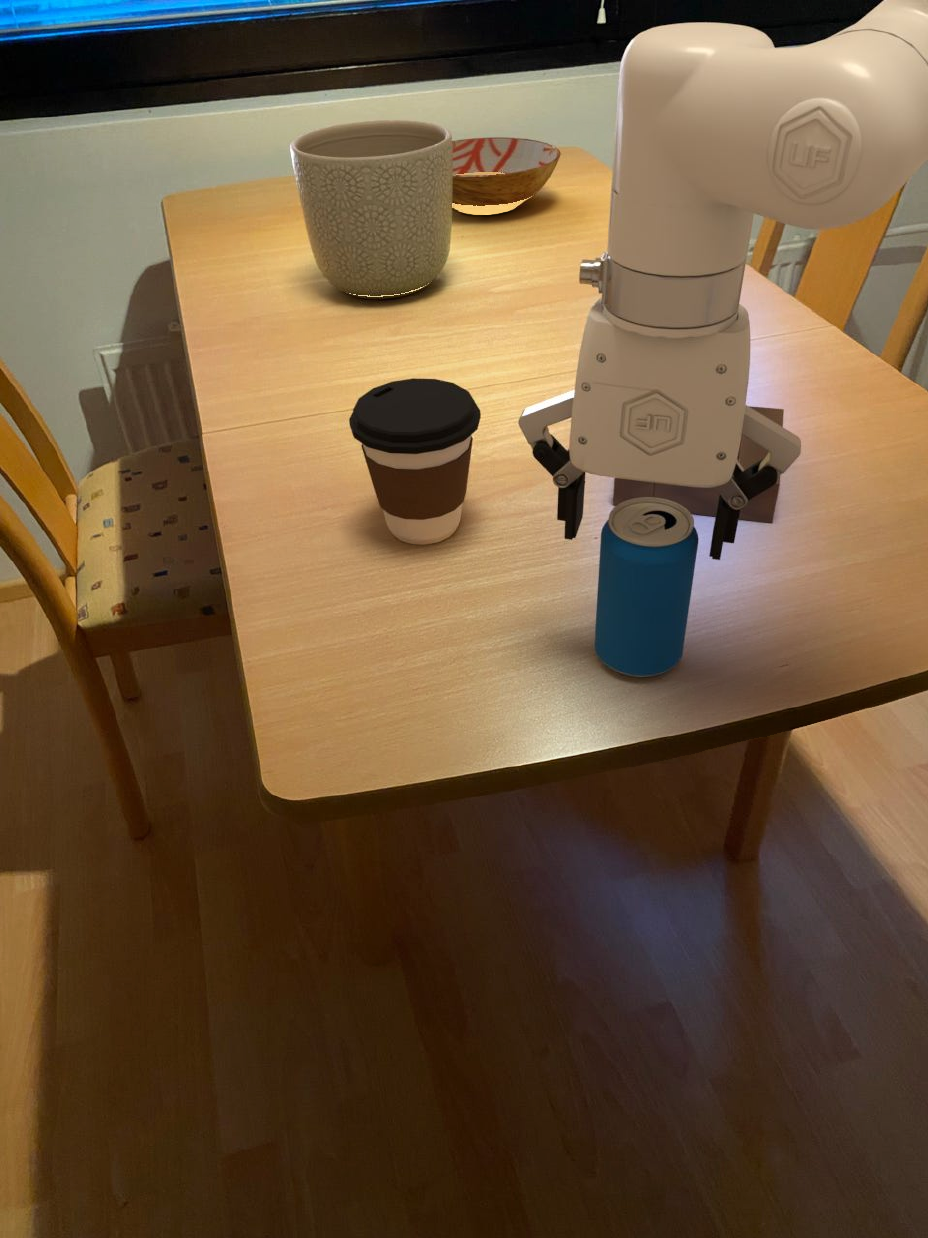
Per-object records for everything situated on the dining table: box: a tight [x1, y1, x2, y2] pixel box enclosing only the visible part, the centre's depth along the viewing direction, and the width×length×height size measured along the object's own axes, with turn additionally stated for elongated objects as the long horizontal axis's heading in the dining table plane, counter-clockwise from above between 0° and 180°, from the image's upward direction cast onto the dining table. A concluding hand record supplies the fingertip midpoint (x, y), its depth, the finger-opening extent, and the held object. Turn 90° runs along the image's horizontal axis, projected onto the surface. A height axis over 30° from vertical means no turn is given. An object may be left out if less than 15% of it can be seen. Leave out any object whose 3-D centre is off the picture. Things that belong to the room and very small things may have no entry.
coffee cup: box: [348, 377, 482, 546], centre depth 80 cm, size 11×11×12 cm
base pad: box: [612, 405, 785, 524], centre depth 87 cm, size 14×14×4 cm
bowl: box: [452, 136, 562, 206], centre depth 156 cm, size 25×25×8 cm
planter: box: [289, 119, 453, 300], centre depth 126 cm, size 21×21×19 cm
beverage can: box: [594, 497, 699, 678], centre depth 66 cm, size 6×6×12 cm
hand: (643, 537), depth 63 cm, fingers open, 9 cm apart
